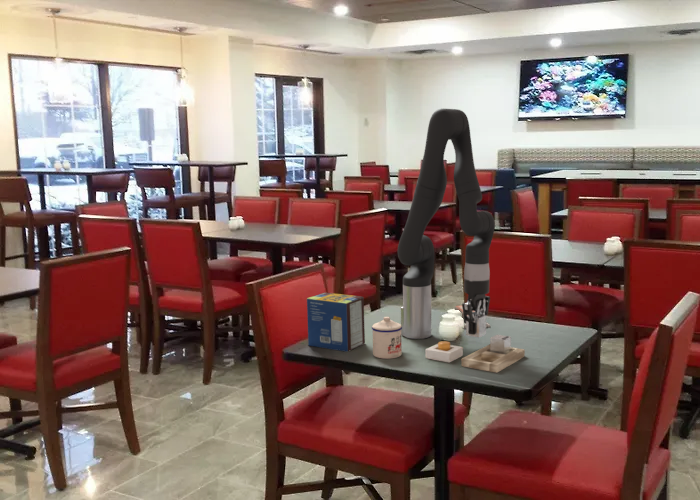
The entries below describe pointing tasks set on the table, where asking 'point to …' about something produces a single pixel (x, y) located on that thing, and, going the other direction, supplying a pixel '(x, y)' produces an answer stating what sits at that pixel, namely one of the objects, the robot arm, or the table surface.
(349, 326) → the protein box
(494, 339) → the block
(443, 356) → the box
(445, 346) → the button
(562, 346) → the table surface
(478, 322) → the steel billet
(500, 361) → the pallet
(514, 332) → the table surface
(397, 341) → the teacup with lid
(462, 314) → the packaged product
